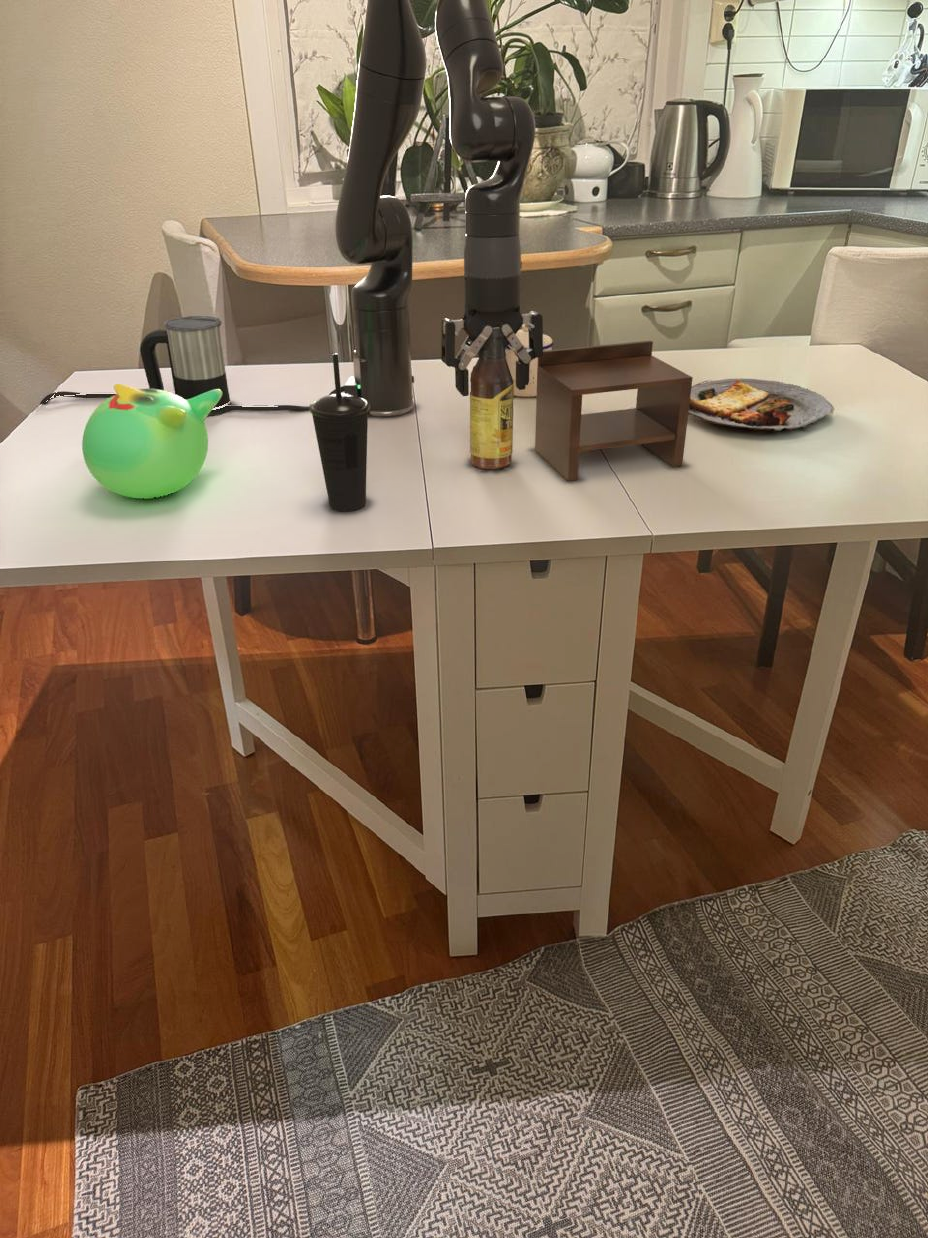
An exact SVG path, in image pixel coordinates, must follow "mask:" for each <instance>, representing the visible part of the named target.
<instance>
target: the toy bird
mask: <svg viewBox="0 0 928 1238" xmlns="http://www.w3.org/2000/svg"><path fill="white" fill-rule="evenodd" d="M113 390H114V391H115V393H117V394H116V395H114V396H112V397H110V398H106V399H105V400H104V401H103V402H101V403H100V404H99V405H98V406H97V407H96V408H95V409H94V411H93V412H92V413H91V415H90V416H89V418H88V420H87V422H86V424H85V427H84V430H83V436H82V441H81V442H82V444H81V447H82V448H81V449H82V450H81V451H82V455H83V456H82V457H83V459H84V463H85V465H86V467H87V469H88V471H89V473H90V474H91V475H92V477H93V478H94V480H96V481H97V482H98V483H99V484H100V485H101V486H102V487H104V488H106V489H107V490H109V491H111V492H113V493H115V494H118V495H120V496H123V497H127V498H133V499H143V498H144V499H155V498H154V497H156V498H161V497H162V498H163V497H165V496H168V494H169V495H171V493H172V494H174V493H177V492H178V491H180V490H182V489H183V488H185V487H186V486H188V485H189V484H190V483H191V482H192V481H193V480H194V479H196V477H197V475H198V474H199V473H200V471H201V469H202V467H203V465H204V463H205V461H206V459H207V458H206V457H207V453H208V447H209V435H208V430H207V426H206V424H205V420H206V418H207V417H208V416H207V415H208V414H209V413H210V412H211V410H212V409H213V408H214V407H215V405H216V404H217V403H218V401H219V400H220V398H221V397H222V391H221V390H220V389H214V390H211V391H208V392H205V393H203V394H200V395H198V396H196V397H193V398H191V399H187V400H185V399H183V398H182V397H180V396H178V395H175V393H172V392H170V391H167V390H164V391H163V390H158V389H153V388H149V387H148V388H135V387H132V386H129V385H126V384H123V383H116V384H114V385H113ZM164 495H165V496H164ZM160 496H161V497H160Z"/></svg>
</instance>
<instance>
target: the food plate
mask: <svg viewBox="0 0 928 1238" xmlns="http://www.w3.org/2000/svg"><path fill="white" fill-rule="evenodd" d="M834 411H835V407H834V405H833V404H832V403H831V402H830V401H829V400H828V399H826V397H824V395H822V394H820V393H818V392H816V391H813V390H811V389H809V388H805V387H802V386H801V385H796V384H791V383H785V382H783V381H778V380H767V379H757V378H743V377H742V378H724V379H717V380H712V379H709V380H704V381H702V382H699V383H696V384H693V385H692V387H691V396H690V404H689V413H688V415H691V416H693V417H696V418H698V419H700V420H701V419H702V420H704V421H707V422H710V423H712V424H713V425H719V426H725V427H729V428H740V429H741V428H742V429H750V430H752V431H753V430H755V431H761V430H762V431H763V430H764V431H770V432H773V431H774V432H780V431H782V430H784V429H786V430H789V431H792V430H795V429H799V428H801V427H803V428H805V427H806V426H808V425H810V424H812V423H816V422H817V421H818V420H820V419H824V417H825V416H827V415H829V414H834Z"/></svg>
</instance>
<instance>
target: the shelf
mask: <svg viewBox="0 0 928 1238" xmlns="http://www.w3.org/2000/svg"><path fill="white" fill-rule="evenodd" d="M653 345H654V341H653V340H643V341H632V342H631V341H629V342H621V343H611V344H600V345H590V346H588V345H587V346H578V347H569V348H558V349H557V348H556V349H552V350H546V351H543V355H542V356H541V357H540V358H538V365H537V370H538V371H537V396H535V397H536V400H535V437H534V451H535V452H536V453H537V454H538V455H539V456H540V457H541V458H543V459H544V461H546V462H547V463H548V464H549V465H550V466H551V467H552V468H553V469H554V470H555V471H556V472H557V473H558V474H560V475H561V476H562V477H563V478H564V479H565V481H567V482H572V481H578V479H579V464H580V463H579V461H580V452H587V451H594V450H602V449H604V450H605V449H611V448H619V447H620V448H621V447H627V446H635V445H642V446H644V447H645V448H646V449H647V450H649V451H651V452H652V453H653V454H654V455H656V456H657V457H659V458H660V459H662V460H663V462H666V463H667V464H668V465H669V466H671V467H672V468H676V467H682V466H683V462H684V454H685V446H686V439H687V438H686V437H687V430H688V429H687V428H688V422H689V421H688V419H689V414H688V413H689V404H690V396H691V387H692V386H693V380H694V379H693V378H694V377H693V376H691V375H689V374H687V373H686V372H683V371H682V370H680V369H678V368H676V367H674V366H672V365H671V364H669V363H667V362H665V361H663V360H661V359H659V358H658V357H655V356H654V355H653ZM631 390H637V391H636V403H635V408H626V409H616V410H609V411H599V412H591V413H583V414H582V408H583V403H582V402H583V396H584V395H595V394H602V393H610V392H611V393H612V392H621V391H631Z"/></svg>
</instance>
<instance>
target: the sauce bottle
mask: <svg viewBox="0 0 928 1238" xmlns="http://www.w3.org/2000/svg"><path fill="white" fill-rule="evenodd" d="M503 337H504V334H503V333H502V331H501V330H500V327H495V328H492V333H491V334H490V336H489V338H488V340H489V347H488V348H487V349H488V350H483V349H480V350H479V352H478V353H477V357H478V359H477V361H476V363H475V364H474V366H473V367H472V370H471V372H470V378H469V382H470V385H469V388H470V391H469V452H470V462H471V464H472V465H473V466H474V467H476V468H479V469H483V470H484V469H485V470H496V469H504V468H506V467H508V466H509V465H510V464H511V463H512V455H513V450H514V449H513V445H514V444H513V443H514V436H513V435H514V396H513V394H514V382H513V379H512V376H511V373H510V370H509V367H508V364H507V360H506V357H505V356H506V353H505V348H504V349H503V345H502V339H503Z"/></svg>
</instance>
